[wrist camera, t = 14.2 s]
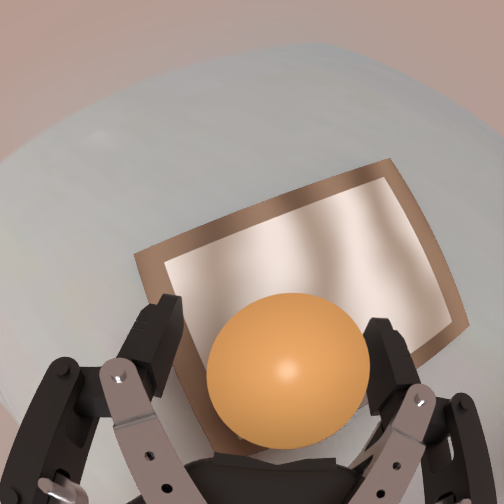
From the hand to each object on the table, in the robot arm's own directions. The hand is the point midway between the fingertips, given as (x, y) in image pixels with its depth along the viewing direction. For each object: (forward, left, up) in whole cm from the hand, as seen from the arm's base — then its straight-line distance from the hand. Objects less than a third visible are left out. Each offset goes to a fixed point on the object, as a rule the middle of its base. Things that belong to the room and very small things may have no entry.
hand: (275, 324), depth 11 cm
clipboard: (-4, 0, -7) cm, 9 cm away
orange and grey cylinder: (+1, +1, -6) cm, 6 cm away
